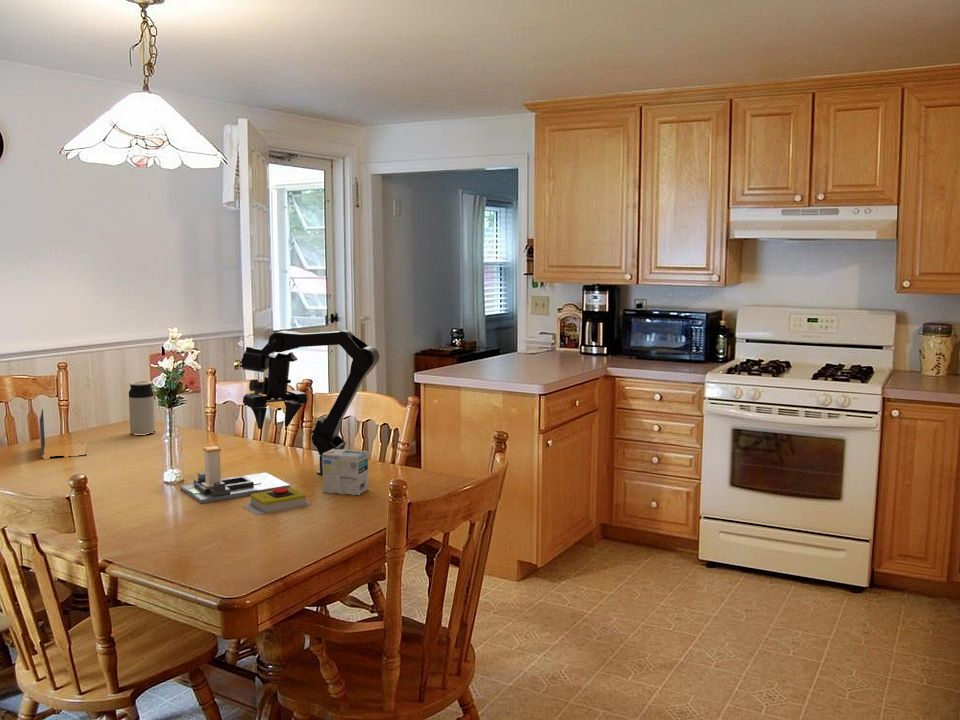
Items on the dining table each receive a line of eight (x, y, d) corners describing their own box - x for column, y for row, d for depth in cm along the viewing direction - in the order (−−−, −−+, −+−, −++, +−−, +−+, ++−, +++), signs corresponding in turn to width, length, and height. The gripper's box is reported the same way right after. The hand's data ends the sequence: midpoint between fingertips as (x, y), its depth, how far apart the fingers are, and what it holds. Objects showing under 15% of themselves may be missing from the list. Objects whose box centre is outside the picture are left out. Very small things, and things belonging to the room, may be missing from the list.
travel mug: (159, 431, 297) (157, 380, 295) (147, 436, 289) (145, 384, 287) (138, 430, 298) (136, 380, 296) (125, 435, 290) (123, 383, 288)
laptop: (87, 456, 262) (84, 415, 260) (41, 460, 256) (38, 418, 255) (86, 444, 278) (84, 405, 276) (43, 448, 272) (41, 408, 271)
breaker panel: (266, 475, 240) (265, 462, 240) (290, 488, 228) (289, 474, 227) (180, 489, 226) (180, 474, 225) (201, 503, 213) (200, 488, 213)
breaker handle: (219, 484, 226) (218, 445, 225) (225, 487, 223) (224, 448, 221) (201, 487, 223) (199, 447, 222) (206, 491, 220) (205, 450, 218)
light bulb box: (369, 489, 227) (369, 450, 226) (359, 496, 221) (359, 456, 220) (332, 486, 230) (332, 447, 229) (321, 493, 224) (321, 453, 222)
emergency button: (312, 489, 213) (255, 499, 204) (312, 506, 214) (256, 517, 204) (295, 481, 220) (240, 490, 211) (296, 497, 221) (241, 508, 212)
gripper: (287, 368, 254) (282, 418, 257) (233, 370, 240) (229, 424, 242) (311, 375, 247) (305, 427, 250) (257, 378, 233) (252, 433, 235)
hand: (273, 427), depth 244 cm, fingers open, 9 cm apart
